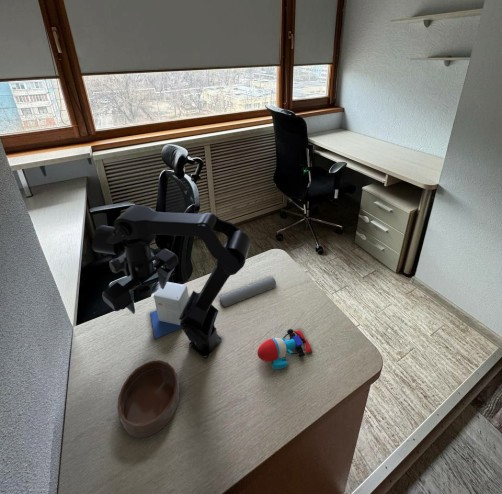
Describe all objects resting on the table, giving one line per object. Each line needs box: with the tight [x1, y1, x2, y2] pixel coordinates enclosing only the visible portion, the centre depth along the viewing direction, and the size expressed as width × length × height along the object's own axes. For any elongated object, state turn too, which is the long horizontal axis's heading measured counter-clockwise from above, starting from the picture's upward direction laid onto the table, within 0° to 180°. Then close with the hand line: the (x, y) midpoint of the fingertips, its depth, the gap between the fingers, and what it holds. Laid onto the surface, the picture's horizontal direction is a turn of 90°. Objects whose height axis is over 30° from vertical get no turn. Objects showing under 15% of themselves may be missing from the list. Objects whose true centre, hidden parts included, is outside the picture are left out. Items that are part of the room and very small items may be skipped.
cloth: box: [150, 309, 183, 340], centre depth 82 cm, size 14×9×1 cm, turn 117°
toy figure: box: [257, 328, 313, 371], centre depth 71 cm, size 8×5×15 cm
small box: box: [153, 281, 190, 325], centre depth 80 cm, size 8×6×10 cm
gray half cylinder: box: [219, 276, 277, 307], centre depth 89 cm, size 4×20×2 cm, turn 115°
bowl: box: [117, 359, 180, 438], centre depth 61 cm, size 13×13×4 cm
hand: (148, 299), depth 72 cm, fingers open, 9 cm apart
